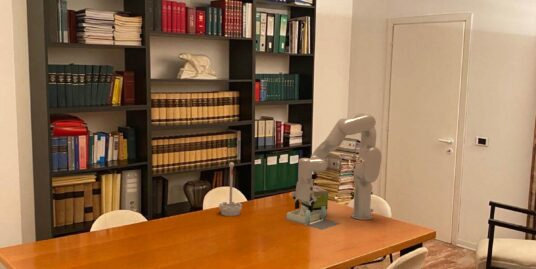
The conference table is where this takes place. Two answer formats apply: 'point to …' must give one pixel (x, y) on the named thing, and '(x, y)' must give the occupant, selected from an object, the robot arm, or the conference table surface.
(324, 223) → the mat
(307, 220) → the post near
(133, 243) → the conference table surface
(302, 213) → the ball
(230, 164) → the flag stand
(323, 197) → the tea box
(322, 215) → the post far
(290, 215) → the tray
